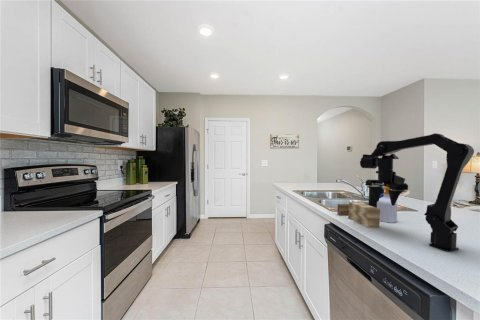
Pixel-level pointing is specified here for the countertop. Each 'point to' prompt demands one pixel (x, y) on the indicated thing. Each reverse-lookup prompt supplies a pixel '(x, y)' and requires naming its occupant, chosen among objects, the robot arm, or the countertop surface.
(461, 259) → the countertop surface
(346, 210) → the stop block
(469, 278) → the countertop surface
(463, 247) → the countertop surface
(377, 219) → the bar
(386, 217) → the soap bottle
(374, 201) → the aerosol can
